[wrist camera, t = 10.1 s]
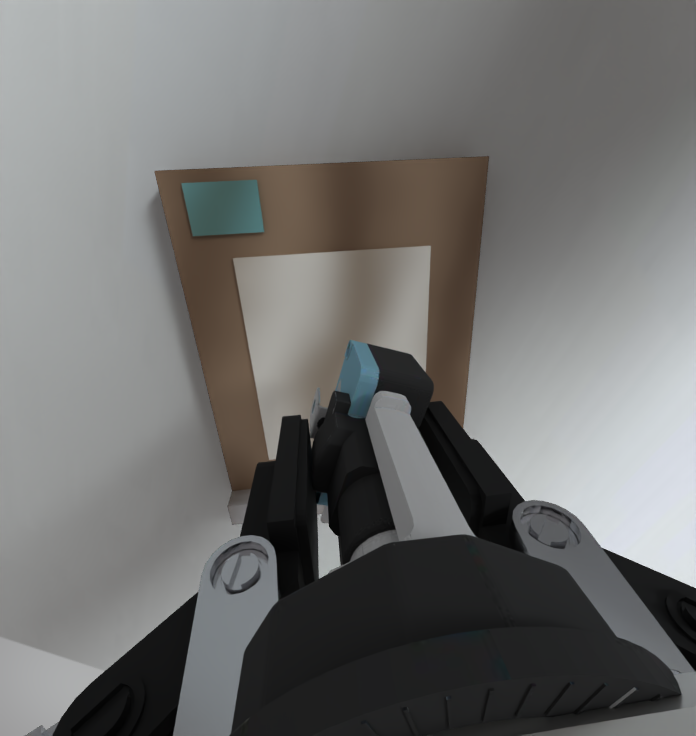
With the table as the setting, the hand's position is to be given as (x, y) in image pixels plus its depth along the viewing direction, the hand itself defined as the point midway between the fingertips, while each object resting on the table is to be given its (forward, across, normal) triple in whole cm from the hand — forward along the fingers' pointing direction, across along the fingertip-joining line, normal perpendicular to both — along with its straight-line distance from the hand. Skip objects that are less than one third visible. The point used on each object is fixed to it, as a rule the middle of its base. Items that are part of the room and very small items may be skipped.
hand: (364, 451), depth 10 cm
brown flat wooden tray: (+9, 0, 0) cm, 9 cm away
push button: (+2, 0, 0) cm, 2 cm away
